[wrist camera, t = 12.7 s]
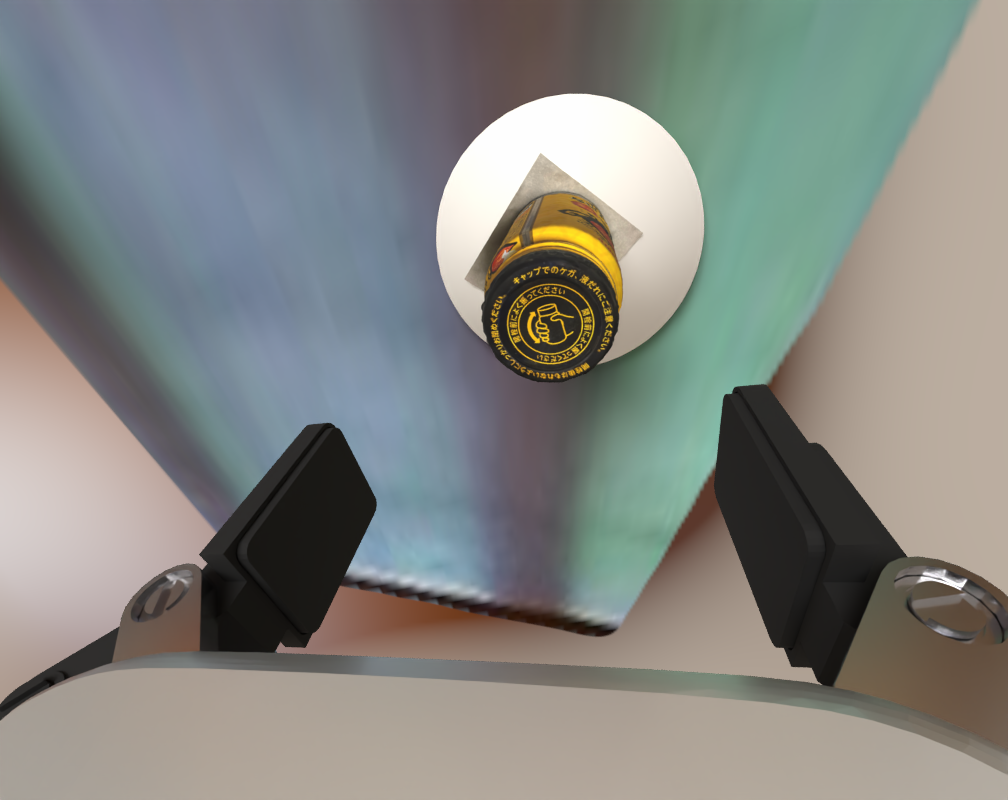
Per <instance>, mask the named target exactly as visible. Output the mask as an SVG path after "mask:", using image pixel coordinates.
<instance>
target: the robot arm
mask: <svg viewBox="0 0 1008 800" xmlns="http://www.w3.org/2000/svg"><path fill="white" fill-rule="evenodd" d="M714 489H715V494H716V498H717V501H718V503H719V506H720V509H721V512H722V514H723V517H724V519H725V522H726V525H727V527H728V530H729V532H730V535H731V538H732V540H733V543H734V545H735V548H736V551H737V553H738V556H739V559H740V561H741V564H742V566H743V569H744V572H745V574H746V577H747V579H748V582H749V585H750V587H751V590H752V592H753V595H754V597H755V600H756V603H757V606H758V608H759V611H760V613H761V616H762V619H763V621H764V624H765V626H766V629H767V632H768V634H769V637H770V639H771V641H772V643H773V644H774V646H775V647H777V648H784V649H785V652H786V654H787V657H788V659H789V662H790V664H791V666H792V667H809V668H812V670H813V671H814V674H815V677H816V679H817V681H818V682H820V683H821V684H822V685H819V684H813V683H808V682H799V681H791V680H782V679H772V678H763V677H755V676H743V675H727V674H712V673H696V672H682V671H667V670H651V669H631V668H610V667H589V666H568V665H548V664H528V663H507V662H484V661H461V660H439V659H415V658H391V657H390V658H389V657H368V656H342V655H315V654H287V653H286V654H285V653H277V652H276V649H277V647H278V645H279V643H280V642H281V643H282V644H283V645H284V646H285V647H303V648H305V647H306V646H307V644H308V642H309V639H310V637H311V635H312V633H314V632H316V631H317V630H318V629H319V627H320V625H321V623H322V621H323V619H324V617H325V615H326V613H327V611H328V609H329V607H330V605H331V603H332V601H333V598H334V596H335V594H336V592H337V590H338V588H339V586H340V584H341V582H342V580H343V578H344V576H345V574H346V572H347V569H348V567H349V565H350V563H351V561H352V559H353V557H354V555H355V553H356V551H357V549H358V547H359V545H360V543H361V540H362V538H363V536H364V534H365V532H366V530H367V528H368V526H369V524H370V522H371V520H372V518H373V516H374V513H375V511H376V507H377V502H376V498H375V496H374V494H373V492H372V490H371V488H370V486H369V484H368V482H367V480H366V478H365V476H364V474H363V472H362V471H361V469H360V467H359V465H358V463H357V461H356V459H355V457H354V455H353V453H352V451H351V449H350V447H349V445H348V443H347V441H346V439H345V437H344V435H343V433H342V432H341V430H340V429H339V428H336V427H335V426H334V425H333V424H331V423H322V424H311V425H307V426H306V427H305V428H304V429H303V430H302V432H301V433H300V434H299V435H298V436H297V438H296V439H295V440H294V441H293V442H292V444H291V445H290V446H289V447H288V448H287V450H286V451H285V452H284V453H283V454H282V456H281V457H280V458H279V459H278V460H277V462H276V463H275V464H274V465H273V466H272V468H271V469H270V470H269V471H268V472H267V474H266V475H265V476H264V477H263V478H262V480H261V481H260V482H259V483H258V484H257V486H256V487H255V488H254V489H253V490H252V492H251V493H250V494H249V495H248V496H247V498H246V499H245V500H244V501H243V502H242V504H241V505H240V506H239V507H238V508H237V510H236V511H235V512H234V513H233V514H232V516H231V517H230V518H229V519H228V520H227V522H226V523H225V524H224V525H223V526H222V528H221V529H220V530H219V531H218V532H217V534H216V535H215V536H214V537H213V539H212V540H211V541H210V542H209V543H208V545H207V546H206V547H205V548H204V549H203V551H202V552H201V553H200V554H199V555H200V556H201V557H202V558H203V559H204V560H205V561H206V562H207V563H208V564H207V565H206V566H205V568H204V569H203V570H201V569H200V568H199V567H198V566H197V565H195V564H183V565H179V566H175V567H173V568H171V569H168V570H166V571H164V572H163V573H161V574H159V575H158V576H156V577H154V578H153V579H152V580H151V581H149V582H148V583H147V584H145V585H144V586H143V587H142V588H141V589H140V590H139V591H138V592H137V593H136V594H135V595H134V596H133V597H132V599H131V600H130V601H129V603H128V604H127V606H126V607H125V610H124V612H123V615H122V617H121V622H120V627H118V628H116V629H114V630H113V631H111V632H110V633H108V634H106V635H104V636H103V637H101V638H99V639H98V640H96V641H94V642H93V643H91V644H89V645H87V646H86V647H84V648H83V649H81V650H79V651H77V652H76V653H74V654H72V655H71V656H69V657H67V658H66V659H64V660H62V661H60V662H59V663H57V664H55V665H54V666H52V667H50V668H49V669H47V670H45V671H44V672H42V673H40V674H39V675H37V676H36V677H34V678H33V679H31V680H30V681H28V682H26V683H25V684H23V685H21V686H20V687H18V688H17V689H15V691H13V692H12V693H11V694H10V695H9V696H7V697H6V698H5V699H4V701H3V702H2V703H1V704H0V800H1008V596H1007V595H1006V594H1005V593H1004V592H1002V591H1001V590H1000V589H998V588H997V587H996V586H994V585H993V584H991V583H990V582H988V581H987V580H985V579H984V578H982V577H981V576H979V575H976V574H974V573H972V572H970V571H968V570H966V569H964V568H962V567H960V566H957V565H954V564H951V563H948V562H945V561H942V560H938V559H932V558H925V557H907V556H906V554H905V553H904V552H903V550H902V549H901V548H900V546H899V545H898V544H897V542H896V541H895V540H894V539H893V537H892V536H891V535H890V533H889V532H888V531H887V529H886V528H885V527H884V525H883V524H882V523H881V521H880V520H879V519H878V518H877V516H876V515H875V514H874V512H873V511H872V510H871V508H870V507H869V506H868V504H867V503H866V502H865V500H864V499H863V498H862V497H861V495H860V494H859V493H858V491H857V490H856V489H855V487H854V486H853V485H852V483H851V482H850V481H849V480H848V478H847V477H846V476H845V474H844V473H843V472H842V470H841V469H840V468H839V466H838V465H837V464H836V462H834V460H833V458H832V457H831V456H830V455H829V454H828V452H827V451H826V450H825V449H824V448H823V447H822V446H821V445H820V444H817V443H808V441H807V440H806V438H805V437H804V436H803V434H802V433H801V432H800V430H799V429H798V427H797V426H796V425H795V423H794V422H793V421H792V419H791V418H790V416H789V415H788V414H787V412H786V411H785V410H784V408H783V407H782V405H781V404H780V403H779V401H778V400H777V398H776V397H775V396H774V394H773V393H772V392H771V390H770V389H769V388H768V386H767V385H764V384H761V385H749V386H738V387H735V388H734V389H733V392H732V394H726V395H725V396H724V398H723V406H722V415H721V425H720V434H719V443H718V453H717V462H716V471H715V481H714Z"/></svg>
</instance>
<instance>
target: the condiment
mask: <svg viewBox="0 0 1008 800" xmlns="http://www.w3.org/2000/svg"><path fill="white" fill-rule="evenodd" d="M642 234H643V232H641V231H640V230H639V229H638V228H636V227H635V226H634V225H632V224H631V223H630V222H629V221H627V220H626V219H625V218H624V217H622V216H621V215H620V214H618V213H617V212H616V211H615V210H613V209H612V208H611V207H610V206H608V205H607V204H606V203H605V202H603V201H602V200H601V199H599V198H598V197H597V196H596V195H594V194H593V193H592V192H590V191H589V190H588V189H587V188H585V187H584V186H583V185H581V184H580V183H579V182H578V181H576V180H575V179H574V178H572V177H571V176H570V175H568V174H567V173H566V172H564V171H563V170H562V169H561V168H559V167H558V166H557V165H556V164H554V163H553V162H552V161H550V160H549V159H548V158H547V157H545V156H544V155H543V154H541V153H540V154H539V156H538V157H537V159H536V161H535V162H534V164H533V166H532V167H531V169H530V171H529V172H528V174H527V176H526V177H525V179H524V181H523V182H522V184H521V186H520V187H519V189H518V191H517V192H516V194H515V196H514V197H513V199H512V201H511V202H510V204H509V206H508V207H507V209H506V211H505V212H504V214H503V216H502V217H501V219H500V221H499V222H498V224H497V226H496V227H495V229H494V231H493V232H492V234H491V236H490V237H489V239H488V241H487V242H486V244H485V245H484V247H483V249H482V251H481V252H480V254H479V255H478V257H477V259H476V260H475V262H474V264H473V265H472V267H471V269H470V270H469V272H468V274H467V275H466V277H465V280H466V281H468V282H469V283H471V284H472V285H474V286H476V287H478V288H479V289H481V290H482V291H484V302H483V303H482V305H481V310H482V319H481V321H482V323H483V332H484V334H485V335H486V340H487V343H488V344H489V346H490V347H491V348H492V350H493V353H494V354H495V356H496V358H497V359H498V360H499V361H500V362H501V363H502V364H503V365H505V366H506V367H507V368H508V369H510V370H512V371H513V372H515V373H516V374H517V375H520V376H522V377H524V378H527V379H530V380H532V381H537V382H564V381H567V380H569V379H572V378H575V377H577V376H580V375H582V374H586V373H587V372H589V371H590V370H591V369H593V368H594V367H595V366H596V365H597V364H598V363H599V362H600V361H601V360H602V359H603V358H604V356H605V355H606V354H607V353H608V352H609V350H610V349H611V347H612V345H613V342H614V337H615V335H616V333H617V332H618V325H619V311H620V308H621V306H622V299H623V278H622V274H621V268H620V265H619V263H618V262H619V261H620V260H621V258H622V257H623V256H624V255H625V254H626V253H627V251H628V250H629V249H630V248H631V246H632V245H633V244H634V243H635V242H636V240H637V239H638V238H639V237H640V236H641V235H642Z"/></svg>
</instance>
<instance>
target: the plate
mask: <svg viewBox="0 0 1008 800" xmlns="http://www.w3.org/2000/svg"><path fill="white" fill-rule="evenodd" d="M540 153H541V154H543V155H544V156H545V157H547V158H548V159H549V160H550V161H552V162H553V163H554V164H556V165H557V166H558V167H559V168H561V169H562V170H563V171H564V172H566V173H567V174H568V175H570V176H571V177H572V178H574V179H575V180H576V181H578V182H579V183H580V184H581V185H583V186H584V187H585V188H587V189H588V190H589V191H590V192H592V193H593V194H594V195H596V196H597V197H598V198H599V199H601V200H602V201H603V202H605V203H606V204H607V205H608V206H610V207H611V208H612V209H613V210H615V211H616V212H617V213H618V214H620V215H621V216H622V217H624V218H625V219H626V220H627V221H629V222H630V223H631V224H632V225H634V226H635V227H636V228H638V229H639V230H640V231H641V232H643V234H642V235H641V236H640V237H639V238H638V239H637V240H636V242H635V243H634V244H633V245H632V246H631V248H630V249H629V250H628V251H627V253H626V254H625V255H624V256H623V257H622V258H621V260H620V261H619V262H618V263H619V265H620V268H621V274H622V278H623V299H622V306H621V308H620V311H619V325H618V332H617V333H616V335H615V337H614V342H613V345H612V347H611V349H610V350H609V352H608V353H607V354H606V355H605V356H604V358H603V359H602V360H601V361H600V362H599V363H598V364H601V363H604V362H607V361H610V360H612V359H615V358H618V357H620V356H622V355H624V354H626V353H628V352H629V351H631V350H633V349H635V348H636V347H638V346H639V345H641V344H642V343H644V342H645V341H647V340H648V339H649V338H650V337H651V336H653V335H654V334H655V333H656V332H657V331H658V330H659V329H660V328H661V327H662V326H663V325H664V324H665V323H666V322H667V321H668V320H669V319H670V318H671V316H672V315H673V314H674V312H675V311H676V309H677V308H678V307H679V305H680V304H681V302H682V301H683V299H684V297H685V295H686V293H687V292H688V290H689V288H690V286H691V284H692V281H693V279H694V276H695V274H696V271H697V268H698V264H699V260H700V256H701V252H702V245H703V237H704V211H703V205H702V198H701V193H700V190H699V186H698V183H697V180H696V176H695V174H694V172H693V170H692V168H691V166H690V163H689V161H688V159H687V157H686V156H685V154H684V153H683V151H682V150H681V148H680V147H679V145H678V144H677V143H676V141H675V140H674V139H673V138H672V137H671V136H670V135H669V134H668V133H667V131H666V130H665V129H664V128H663V127H662V126H661V125H659V124H658V123H657V122H655V121H654V120H653V119H652V118H650V117H649V116H648V115H646V114H645V113H643V112H641V111H639V110H637V109H636V108H634V107H632V106H630V105H628V104H626V103H623V102H620V101H617V100H614V99H611V98H608V97H602V96H596V95H589V94H563V95H557V96H551V97H545V98H542V99H539V100H536V101H533V102H530V103H527V104H524V105H522V106H520V107H518V108H516V109H514V110H512V111H510V112H508V113H507V114H505V115H504V116H502V117H501V118H499V119H498V120H497V121H495V122H494V123H492V124H491V125H490V126H489V127H487V128H486V129H485V130H484V131H483V132H482V133H481V134H480V135H479V136H478V137H477V138H476V139H475V140H474V141H473V142H472V144H471V145H470V146H469V147H468V149H467V150H466V151H465V152H464V154H463V155H462V157H461V158H460V160H459V161H458V163H457V165H456V166H455V168H454V170H453V171H452V174H451V176H450V178H449V181H448V183H447V185H446V187H445V190H444V194H443V197H442V200H441V204H440V208H439V214H438V220H437V235H436V244H437V256H438V262H439V267H440V272H441V276H442V279H443V281H444V284H445V287H446V290H447V292H448V294H449V296H450V298H451V301H452V303H453V304H454V306H455V308H456V309H457V311H458V312H459V314H460V315H461V317H462V318H463V319H464V321H465V322H466V323H467V324H468V326H469V327H470V328H471V329H472V330H473V331H474V332H475V333H476V334H477V335H478V336H479V337H480V338H481V339H483V340H484V341H485V342H487V340H486V335H485V334H484V332H483V323H482V321H481V319H482V310H481V305H482V303H483V302H484V291H482V290H481V289H479V288H478V287H476V286H474V285H472V284H471V283H469V282H468V281H466V280H465V277H466V275H467V274H468V272H469V270H470V269H471V267H472V265H473V264H474V262H475V260H476V259H477V257H478V255H479V254H480V252H481V251H482V249H483V247H484V245H485V244H486V242H487V241H488V239H489V237H490V236H491V234H492V232H493V231H494V229H495V227H496V226H497V224H498V222H499V221H500V219H501V217H502V216H503V214H504V212H505V211H506V209H507V207H508V206H509V204H510V202H511V201H512V199H513V197H514V196H515V194H516V192H517V191H518V189H519V187H520V186H521V184H522V182H523V181H524V179H525V177H526V176H527V174H528V172H529V171H530V169H531V167H532V166H533V164H534V162H535V161H536V159H537V157H538V156H539V154H540Z"/></svg>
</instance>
